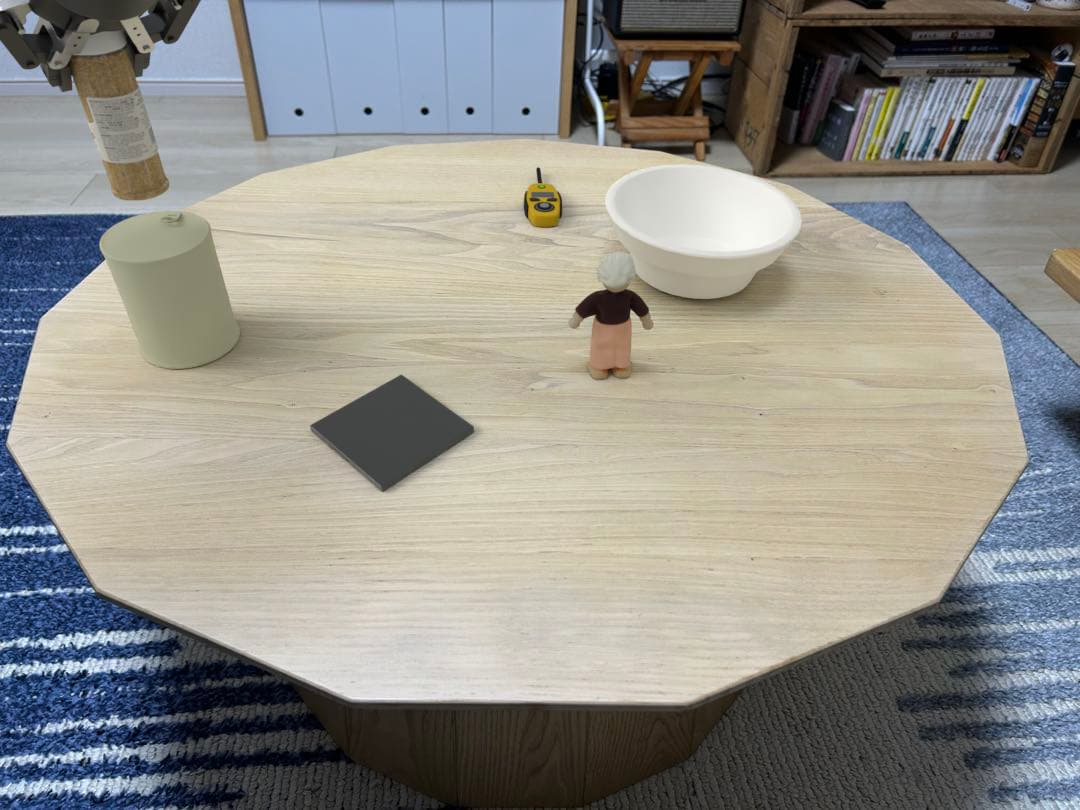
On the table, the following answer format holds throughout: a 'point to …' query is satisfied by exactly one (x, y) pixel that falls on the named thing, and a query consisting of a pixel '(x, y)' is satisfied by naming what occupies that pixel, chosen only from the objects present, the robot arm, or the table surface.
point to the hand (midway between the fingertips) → (96, 72)
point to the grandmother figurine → (612, 317)
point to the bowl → (700, 227)
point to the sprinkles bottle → (118, 117)
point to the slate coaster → (391, 431)
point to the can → (172, 288)
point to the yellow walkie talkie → (542, 203)
